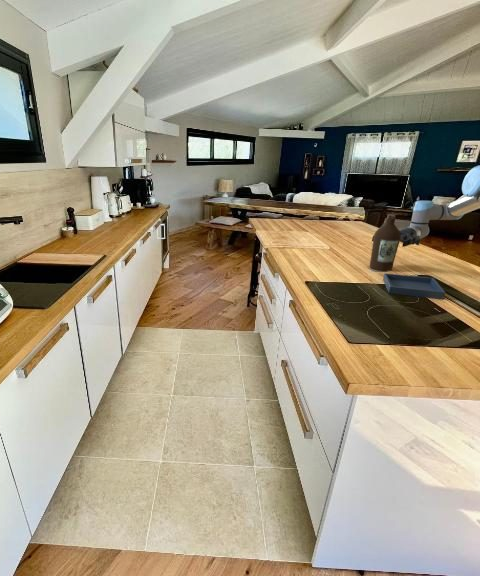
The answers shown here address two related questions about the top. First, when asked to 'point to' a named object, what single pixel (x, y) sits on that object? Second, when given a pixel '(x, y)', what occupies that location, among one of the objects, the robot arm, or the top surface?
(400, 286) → the tray
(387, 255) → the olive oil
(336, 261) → the top surface
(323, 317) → the top surface
